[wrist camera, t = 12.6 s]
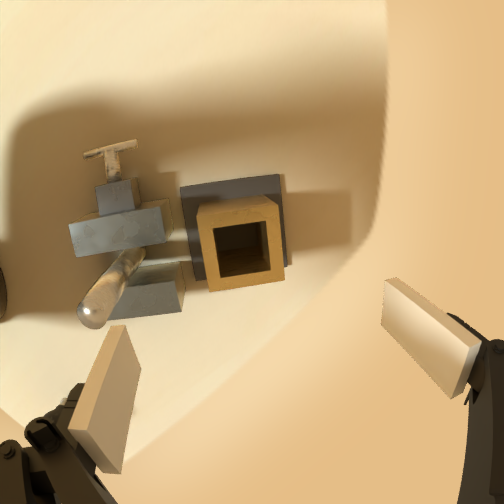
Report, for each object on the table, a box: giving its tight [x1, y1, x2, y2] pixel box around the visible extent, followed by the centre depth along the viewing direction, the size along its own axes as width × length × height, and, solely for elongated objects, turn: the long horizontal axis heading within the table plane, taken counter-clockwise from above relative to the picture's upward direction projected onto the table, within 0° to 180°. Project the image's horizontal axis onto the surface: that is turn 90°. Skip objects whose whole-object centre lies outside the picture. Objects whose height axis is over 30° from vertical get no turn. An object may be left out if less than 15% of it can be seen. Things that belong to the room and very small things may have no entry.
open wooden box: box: [196, 194, 285, 292], centre depth 30 cm, size 7×7×8 cm
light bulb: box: [43, 398, 67, 425], centre depth 35 cm, size 6×6×10 cm
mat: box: [180, 174, 287, 281], centre depth 34 cm, size 11×11×1 cm
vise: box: [68, 139, 186, 329], centre depth 26 cm, size 10×18×16 cm, turn 6°
